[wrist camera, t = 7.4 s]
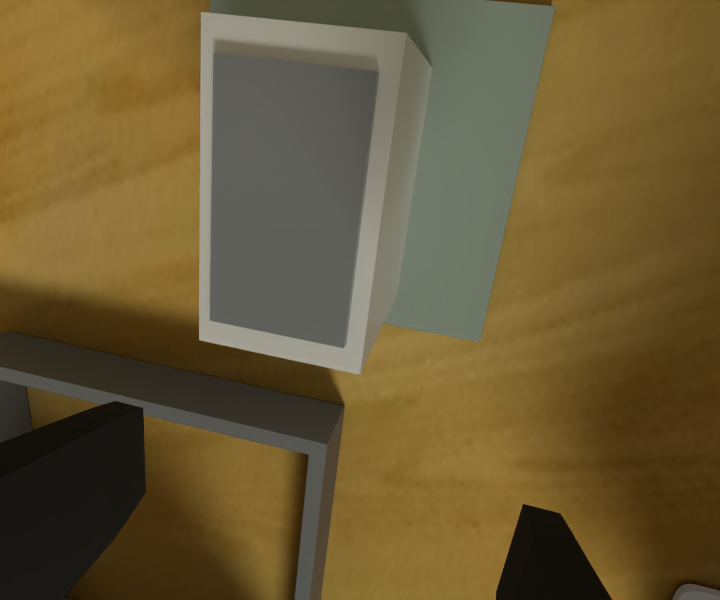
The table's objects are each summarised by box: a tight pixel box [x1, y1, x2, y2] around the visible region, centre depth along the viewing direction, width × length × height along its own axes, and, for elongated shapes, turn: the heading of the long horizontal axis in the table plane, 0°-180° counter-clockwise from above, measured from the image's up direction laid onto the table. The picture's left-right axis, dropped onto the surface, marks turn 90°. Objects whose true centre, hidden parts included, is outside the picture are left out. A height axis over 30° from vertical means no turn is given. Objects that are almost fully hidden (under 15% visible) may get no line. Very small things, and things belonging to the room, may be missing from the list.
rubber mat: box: [210, 0, 555, 342], centre depth 16 cm, size 10×10×1 cm
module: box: [199, 12, 432, 375], centre depth 13 cm, size 4×7×6 cm, turn 173°
